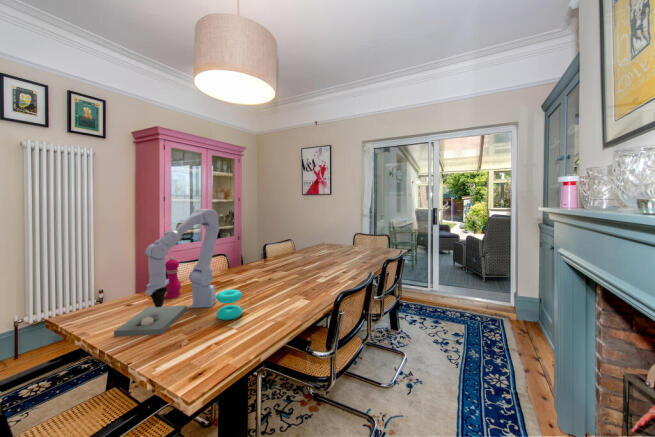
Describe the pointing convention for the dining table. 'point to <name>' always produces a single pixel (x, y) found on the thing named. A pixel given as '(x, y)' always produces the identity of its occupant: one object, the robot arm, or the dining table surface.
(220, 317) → the donuts
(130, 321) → the plate
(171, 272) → the pepper mill
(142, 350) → the dining table surface
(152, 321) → the ball
